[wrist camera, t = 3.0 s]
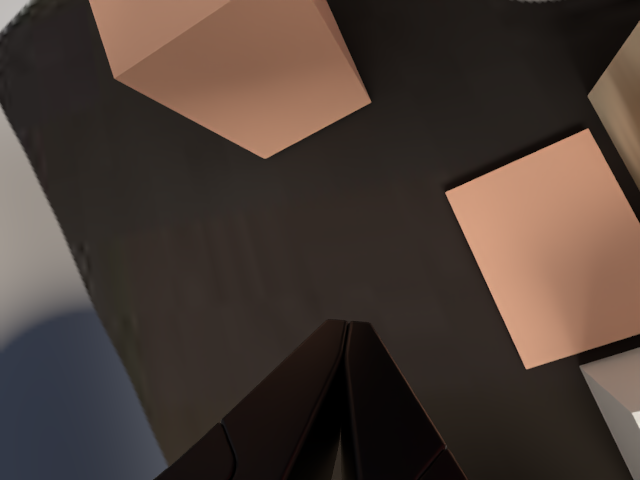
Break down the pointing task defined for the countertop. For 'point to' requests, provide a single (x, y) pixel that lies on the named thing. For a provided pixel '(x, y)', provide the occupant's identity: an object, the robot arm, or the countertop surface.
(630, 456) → the white block
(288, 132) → the terracotta block
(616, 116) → the birch block
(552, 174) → the colour card
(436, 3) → the countertop surface
